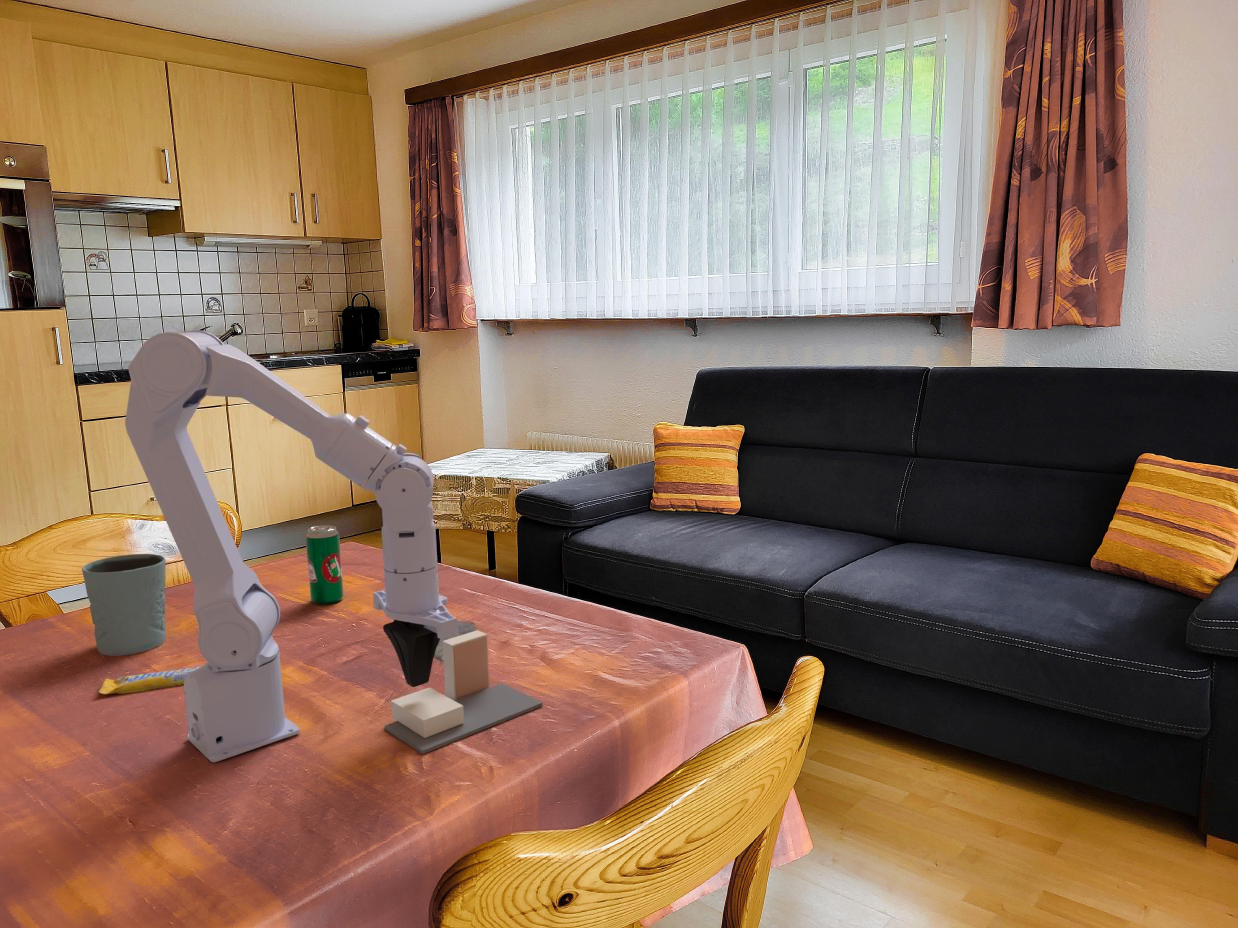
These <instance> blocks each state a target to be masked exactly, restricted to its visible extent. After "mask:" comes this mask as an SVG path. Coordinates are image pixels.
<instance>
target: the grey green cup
mask: <svg viewBox="0 0 1238 928" xmlns="http://www.w3.org/2000/svg"><path fill="white" fill-rule="evenodd" d="M166 562H167V561H166V558H165V556H163V555H160V554H155V553H134V554H133V553H132V554H123V555H116V556H115V555H114V556H110V557H105V558H100V559H96V560H95V561H91V562H89V563H87V564H85V565H83V567H82V568H81V572H82V576H83V579H84V580H83V581H84V584H85V585H84V586H85V590H86V595H87V599H88V600H89V604H90V605H89V611H90V615H91V620H92V624H93V625H94V638H95V642H96V648H97V652H98V653H99V654H101V655H103V656H107V655H108V656H109V657H121V656H122V655H123V656H129V655H137V654H140V653H139V652H141V653H144V652H147V650H148V651H151V650H153V649H156V648H158V647H159V645H160V646H162V644H164V643H165V641H166V639H167V637H166V636H167V633H166V631H167V630H166V629H167V626H166V623H167V622H166V618H165V615H166V595H165V594H164V593H165V590H166ZM157 646H158V647H157ZM155 647H156V648H155ZM150 649H151V650H150ZM108 656H107V657H108ZM123 656H122V657H123Z"/></svg>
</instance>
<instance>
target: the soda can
mask: <svg viewBox="0 0 1238 928" xmlns="http://www.w3.org/2000/svg"><path fill="white" fill-rule="evenodd" d="M305 544H306V545H305V547H306V558H307V567H308V568H307V569H308V570H307V572H308V582H309V584H308V585H309V593H310V594H309V596H310V600H311V602H312V603H314V604H316V605H321V606H322V605H331V604H335V603H338V602H340V601H341V600H342V599H343V597H344V585H343V581H344V580H343V569H342V556H341V555H342V554H341V541H340V533H339V531H338V530H337V527H336V525H335V526H334V525H327V524H325V525H317V526H312V527H310V528H308V529H307V534H306V535H305Z"/></svg>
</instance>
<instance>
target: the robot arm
mask: <svg viewBox="0 0 1238 928" xmlns="http://www.w3.org/2000/svg"><path fill="white" fill-rule="evenodd" d="M127 369H128V373H129V376H130V377H129V378H130V387H129V392H128V399H127V405H126V406H127V407H126V415H125V421H124V425H125V430H126V433H127V435H128V437H129V440H130V442H131V445H132V447H133V449H134V451H135V455H136V456H137V459H138V461H139V462H140V466H141V467H142V469H143V472H144V474H145V477H146V478H147V481H148V484H149V486H150V487H151V490H152V492H153V495H154V497H155V499H156V501H157V504H158V506H159V508H160V510H161V513H162V515H163V517H164V520H165V522H166V524H167V527H168V529H169V532H170V533H171V535H172V538H173V540H174V542H175V544H176V547H177V549H178V551H179V553H180V556H181V558H182V561H183V562H184V565H185V568H186V569H187V571H188V574H189V577H190V579H191V581H192V583H193V587H194V593H193V614H194V616H195V618H196V622H197V624H198V633H197V645H198V646H197V647H198V649H199V651H200V654H201V656H202V657H203V658H204V659H205V661H206V663H205V664H203V665H202V667H201V666H199V667H200V668H198V669H196V670H194V671H191V672H189V673H187V674H186V675H185V678H184V685H183V690H184V691H183V692H184V693H183V695H184V701H185V711H186V721H187V729H188V730H187V731H188V733H187V735H186V737H187V739H188V742H190V743H191V744H192V745H193V746H194V747H196V748H197V749H198V751H199V752H200V753H201V754H203V756H205V758H206V759H208V760H209V761H210V762H211V763H217V762H220V761H222V760H226V759H229V758H231V757H235V756H237V755H240V754H243V753H246V752H249V751H251V750H255V749H257V748H261V747H264V746H266V745H269V744H272V743H275V742H278V741H281V740H284V739H287V738H289V737H292V736H295V735H298V734H299V733H301V728H300V727H299V726H298V725H296V724H295V723H294V722H293V721H291V720H290V719H288V717H286V714H285V713H286V712H285V700H284V692H283V691H284V689H283V680H282V679H283V678H282V667H281V666H282V665H281V656H280V648H279V645H278V644H277V642H276V640H275V639H274V636H273V632H274V630H275V629H276V628H277V626H278V625H279V623H280V618H281V608H280V604H279V602H278V600H277V599H276V597H275V596H274V595H273V594H272V593H271V592H269V591H268V590H267V589H266V588H265V587H264V586H263V585H262V584H261V582H260V580H259V577H258V575H257V573H256V572H255V571H254V570H253V569H252V568H251V567H249V566H248V565H247V564H245V563H244V560H243V559H242V556H241V553H240V552H239V551H240V550H239V549H238V547H237V545H236V542H235V539H234V537H233V535H232V533H231V531H230V528H229V526H228V523H227V522H226V519H225V516H224V514H223V512H222V509H221V507H220V505H219V502H218V499H217V498H216V495H215V493H214V490H213V488H212V486H211V484H210V481H209V479H208V477H207V475H206V472H205V469H204V467H203V464H202V463H201V461H200V458H199V455H198V453H197V451H196V448H195V446H194V443H193V441H192V439H191V437H190V434H189V432H188V429H187V428H188V425H189V423H190V421H191V419H192V418H193V416H194V414H195V412H196V411H197V409H198V407H199V406H200V404H201V402H202V400H203V399H205V398H206V397H207V396H208V397H222V398H223V397H225V398H239V399H244V400H245V401H247V402H249V403H250V404H251V405H253V406H255V407H256V408H258V409H260V410H262V411H264V412H265V413H267V414H268V415H270V416H271V417H273V418H275V419H276V420H278V421H280V422H281V423H283V424H284V425H287V426H288V427H290V428H291V429H293V430H294V431H296V432H298V433H300V434H301V435H303V436H304V437H306V438H308V439H309V440H310V441H311V443H312V448H313V452H314V455H315V456H314V457H315V458H316V459H318V460H319V461H321V462H322V463H324V464H325V465H327V466H329V467H330V468H332V469H333V470H334V471H335V472H338V473H339V474H340V475H342V476H343V477H345V478H347V479H348V480H350V481H351V482H353V483H354V484H355V485H357V486H358V487H360V488H361V489H362V490H364V491H370V492H374V498H375V500H376V502H377V505H378V506H379V507H380V508H381V510H382V526H381V540H382V542H381V543H382V554H383V555H382V556H383V557H382V559H383V573H384V574H383V575H384V589H383V590H378V591H374V592H373V593H372V596H373V608H374V610H377V611H381V610H382V611H383V613H384V615H385V616H386V617H387V618H389V619H391V620H393V621H391V622H387V623H385V624H384V625H382V629H383V632H384V634H385V635H386V637H387V638H388V639H389V641H390V642H391V645H392V646H393V649H394V650H395V653H396V656H397V658H398V661H399V664H400V668H401V671H402V674H403V678H404V679H405V682H406V685H408V686H409V687H412V688H416V687H418V686H422V685H425V684H427V683H429V681H430V676H431V673H432V665H433V661H434V659H435V658H434V654H435V651H436V648H437V645H438V643H439V641H440V639H442V640H443V639H446V638H450V637H453V636H456V635H458V626H457V622H458V617H456V616H454V615H452V614H451V612H449V610H448V609H447V607H446V605H448V604H449V602H448V597H446V596H444V595H441V594H440V591H439V574H438V573H439V572H438V571H439V569H438V555H437V553H438V551H437V535H436V523H435V522H434V520H433V519H434V507H433V503H432V498H433V495H434V489H433V488H434V484H435V478H434V474H433V471H432V469H431V467H430V466H429V464H428V463H427V462H426V461H425V460H423V459H422V457H421V456H420V455H419V454H416V453H412V452H407V450H408V449H407V447H406V446H404V445H403V444H401V443H399V444H398V445H395V444H394V443H392V442H391V441H389V440H387V439H386V438H385V437H384V436H382V435H381V434H379V433H378V432H376V431H375V430H373V429H372V428H371V427H369V425H370V423H371V421H370V420H369V419H368V418H366V417H365V416H363V414H361V415H359V416H357V418H356V417H354V416H353V415H352V414H350V413H347V412H346V413H340V414H333V415H332V414H329V413H327V412H326V411H325V410H323V409H322V408H321V407H319V406H318V405H317V404H315V403H314V402H313V401H311V400H310V399H308V398H307V397H305V395H303V394H302V393H300V392H299V391H298V390H296V389H295V388H294V387H292V386H291V385H290V384H288V383H287V382H285V381H284V380H283V379H281V378H280V377H279V376H277V375H276V374H274V373H273V372H272V371H270V370H269V369H267V367H265V366H264V365H263V364H261V363H259V361H257V360H255V359H254V358H252V357H251V356H250V355H248V354H246V353H245V352H243V350H240V349H239V348H237V347H235V346H233V345H231V344H229V343H228V344H226V343H224V342H223V341H222V340H221V339H220V338H219V337H218V336H216V335H215V334H213V333H210V332H208V331H206V330H197V329H196V330H188V331H184V332H175V331H165V332H164V331H163V332H161V333H157V334H155V335H152V336H151V337H149V338H148V339H147V340H146V341H145V342H144V343H143V344H142V345H141V347H140V348H139V350H138V351H137V353H136V354H135V355H134V357H133V359H132V360H131V361H130V364H129V365H128V367H127Z"/></svg>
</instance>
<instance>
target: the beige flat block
mask: <svg viewBox="0 0 1238 928" xmlns="http://www.w3.org/2000/svg"><path fill="white" fill-rule="evenodd" d="M390 711H391V718H392V719H394V720H395V721H398V722H400V723H402V724H403V725H405V726H406V727H408V728H410V729H411V730H413V731H414V732H416V733H418V734H419V735H421V736H422V737H424V738H427V737H430V736H432V735H435V734H437V733H440V732H442V731H445V730H448V729H450V728H453V727H455V726H458V725H460V724H462V723H464V710H463V705H461V704H459V703H457V702H455V701H454V700H452V699H450V698H448V697H446V694H443V693H441V692H439V691H437V690H435V689H433V688H432V687H426V688H423V689H421V690H417V691H415V692H412V693H409V694H406V695H403V696H400V697H398V698H395V699H392V700H390Z"/></svg>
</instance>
